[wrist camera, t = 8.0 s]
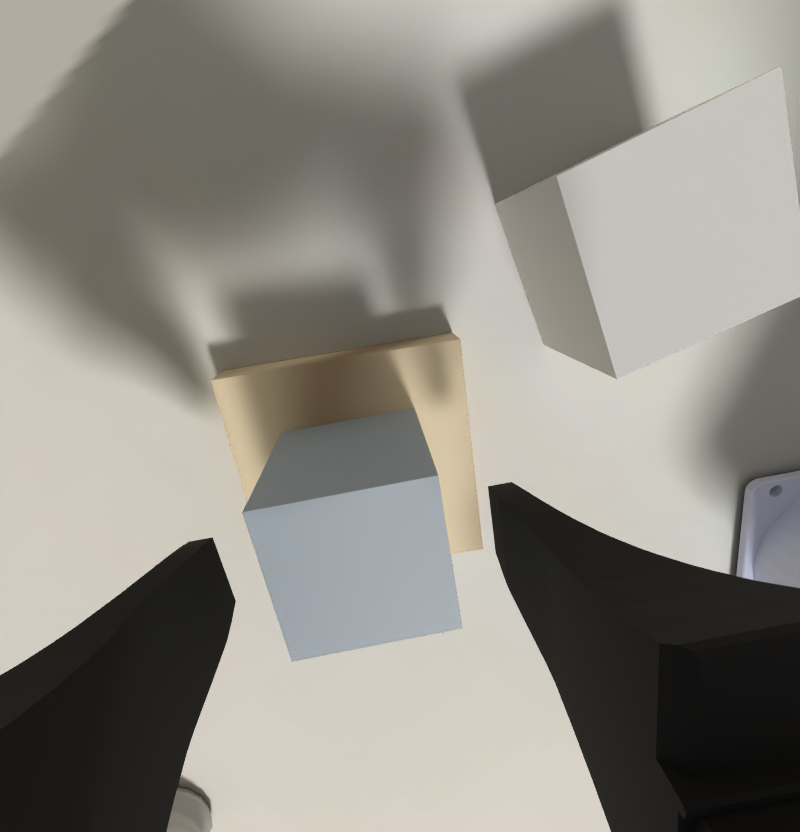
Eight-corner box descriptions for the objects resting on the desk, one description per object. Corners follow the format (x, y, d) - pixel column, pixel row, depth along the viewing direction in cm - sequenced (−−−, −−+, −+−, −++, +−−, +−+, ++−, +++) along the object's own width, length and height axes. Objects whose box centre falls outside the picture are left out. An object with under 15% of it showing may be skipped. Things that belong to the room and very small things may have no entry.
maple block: (449, 330, 16) (460, 338, 14) (471, 519, 19) (483, 548, 17) (229, 366, 16) (210, 380, 14) (282, 552, 19) (272, 585, 17)
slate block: (414, 407, 15) (438, 475, 10) (433, 522, 16) (462, 628, 12) (280, 432, 15) (242, 512, 10) (312, 545, 16) (291, 661, 12)
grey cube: (641, 131, 14) (780, 65, 9) (676, 282, 16) (810, 291, 11) (494, 204, 14) (556, 176, 10) (543, 344, 16) (616, 379, 11)
